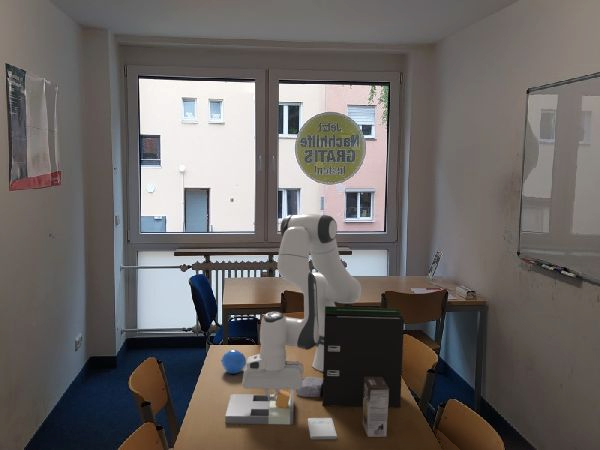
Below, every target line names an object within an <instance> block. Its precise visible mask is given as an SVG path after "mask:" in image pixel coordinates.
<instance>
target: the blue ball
mask: <svg viewBox="0 0 600 450" xmlns="http://www.w3.org/2000/svg"><path fill="white" fill-rule="evenodd" d="M221 358H222V359H221V360H220V361H221V365H222V367H223V369H224V370H225V372H227V373H229V374H232V375H233V374H239V373H241V372H242V371H244V370H245V367H246V362H247V358H246V356H245V355H244V353H243V352H241V351H239V350H229V351H227V352H225V353H224V354H223V356H222V357H221Z"/></svg>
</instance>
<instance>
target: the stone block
mask: <svg viewBox="0 0 600 450" xmlns="http://www.w3.org/2000/svg"><path fill="white" fill-rule="evenodd" d="M295 392H296V393H295V394H296V395H297V396H299V397H304V398H306V397H307V398H308V397H309V398H310V397H312V398H320V397H321V395H322V393H323V378H320V377H317V376H306V377H302V387H301V389H299V390H298V389H295Z"/></svg>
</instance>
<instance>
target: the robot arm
mask: <svg viewBox="0 0 600 450" xmlns="http://www.w3.org/2000/svg"><path fill="white" fill-rule="evenodd" d="M337 223H338V222H337V221H336V220H335V218H334V217H333V216H331V215H328V214H323V215H321V214H317V213H316V214H315V213H308V214H303V213H302V214H288V215H287V216H285V217H284V218H283V219H282V220H281V222H280V226H279V230H280V235H281V237H282V238H281V242H280V246H279V250H278V257H277V271H278V273H279V276H281V278H282V279H284V280H285V281H287V282H288V283H290V284H292V285H293V286H295V287H297V288H298V289H299V290H301V292H302V294H303V308H304V309H303V312H304V313H303V314H304V316H303V318H295V317H290V316H289V317H288V316H285V314H284V313H283V312H280V311H270V312H267V313H265V314H264V315H263V316H262V319H261V323H260V328H259V329H260V330H259V342H260V350H259V353H257V354H254V355H251V356H248V357H247V358H246V365H245V367H244V369H243V375H242V381H241V382H242V385H241V387H242V388H244V389H247V390H249V389H251V390H252V389H257V390H262V389H263V390H264V393H265V395H267V396H268V401H276V396H277V395H278V393H279V390H296V389H298V390H299V389H301V387H302V378H303V377H302V375H303V373H304V364H302V362H300V361H292V360H291V361H288V360H287V351H286V346H287V347H295V348H299V349H302V350H305V351H308V350H311V349H313V348H314V347H315V354H314V358H313V361H312V365H311V366H312V367H313V368H314V369H315V370H316V371H320V372H323V363H324V325H325V306H332V307H337V306H336V304H335V303H339V304H355V303H356V302H357V301H358V300H359V299H360V298H361V295H362V285H361V283H360V281H359V280H358V279H356V278H355V277H354V276H353V275H351V273H350V272H349V271H348V270H347V268H346V267H345V266H344V264H343V261H342V260H341V257H340V256H341V255H340V252H339V248H338V243H337V238H336V237H337V234H338V224H337ZM310 258H311V262H312V266H313V267H314V269H315V270H316V271H317V272H311V270H310V263H309V262H310V261H309V260H310ZM270 390H274V391H275V392H274V394H272V393H270Z"/></svg>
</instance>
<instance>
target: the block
mask: <svg viewBox="0 0 600 450" xmlns="http://www.w3.org/2000/svg"><path fill="white" fill-rule="evenodd" d="M290 395H291V391H290V392H289V391H286V390H284V389H279V393H278V395H277V398H276V404H275V405H276V406H279V407H283V408H287V406H288V403H289V399H290Z"/></svg>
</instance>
